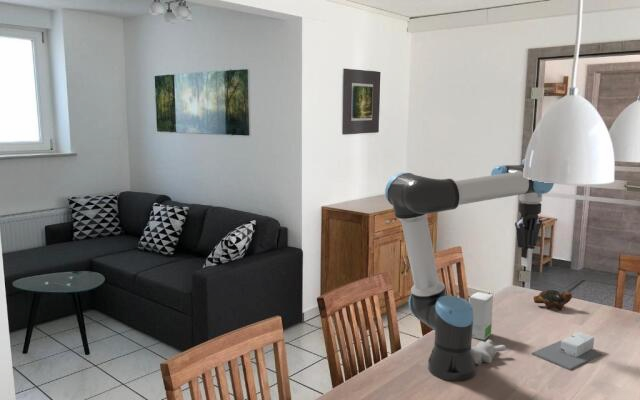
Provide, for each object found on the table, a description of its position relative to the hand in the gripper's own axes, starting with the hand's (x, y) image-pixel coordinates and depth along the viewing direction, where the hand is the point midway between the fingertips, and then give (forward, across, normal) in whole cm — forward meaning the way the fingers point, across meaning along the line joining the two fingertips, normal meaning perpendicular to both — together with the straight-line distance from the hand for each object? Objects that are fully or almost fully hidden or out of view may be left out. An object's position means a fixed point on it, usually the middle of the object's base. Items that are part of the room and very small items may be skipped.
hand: (525, 265), depth 195 cm
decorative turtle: (+28, +39, +12) cm, 49 cm away
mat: (+28, +2, -18) cm, 33 cm away
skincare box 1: (+28, -10, +10) cm, 32 cm away
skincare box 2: (+25, +14, -17) cm, 34 cm away
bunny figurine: (+29, -24, -4) cm, 38 cm away
